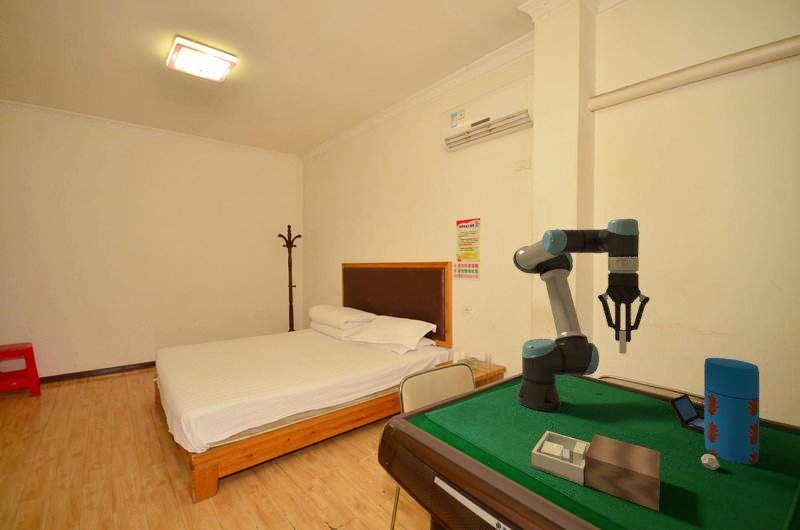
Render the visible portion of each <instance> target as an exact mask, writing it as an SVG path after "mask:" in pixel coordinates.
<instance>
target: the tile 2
mask: <svg viewBox="0 0 800 530" xmlns="http://www.w3.org/2000/svg"><path fill="white" fill-rule="evenodd" d="M585 454H586V444H585V443H581V442H578V441H573V443H572V446H571V448H570V450H569V463H572V464H575V465H578V466H580V465H581V463H582V461H583V458H584V456H585Z"/></svg>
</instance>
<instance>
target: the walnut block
mask: <svg viewBox="0 0 800 530" xmlns="http://www.w3.org/2000/svg"><path fill="white" fill-rule="evenodd" d="M589 443H590V446H589V448H588V450H587V452H586V455H585V482H584V486H586V487H590V488H592V489H595V490H598V491H601V492H604V493H606V494H609V495H612V496H615V497H618V498H620V499H623V500H626V501H628V502H631V503H635V504H637V505H640V506H643V507H645V508H649V509H651V510H654V511H657V512H659V511H660V491H661V490H660V489H661V451H659V450H656V449H651V448H648V447H644V446H640V445H636V444H632V443H629V442H625V441H622V440H618V439H613V438H610V437H607V436H603V435H599V434H596V433H594V435H593V436H592V439H591V441H590V442H589Z"/></svg>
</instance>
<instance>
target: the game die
mask: <svg viewBox="0 0 800 530" xmlns="http://www.w3.org/2000/svg"><path fill="white" fill-rule="evenodd" d="M700 461H701V463H702V464H703V466H704V468H706V469H709V470H711V471H714V470H715V471H716V470H717V469H718V468H720V467H721V465H720V462H719V461H718V459H717V456H716V455H714V454H711V453H705V454H703V455H702V456H701V457H700Z"/></svg>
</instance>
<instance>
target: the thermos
mask: <svg viewBox="0 0 800 530" xmlns="http://www.w3.org/2000/svg"><path fill="white" fill-rule="evenodd" d="M703 370H704V371H703V373H704V375H703V376H704V380H703V381H704V385H703V387H704V390H703V391H704V392H703V393H704V395H703V396H704V398H703V399H704V400H703V403H704V404H703V405H704V408H703V409H704V411H703V413H704V414H703V417H704V434H703V435H704V447H705V449H706V451H708V452H709V454H711V455H713V456H715V457H716V458H717V457H718V458H720V459H723V460H725V461H728V462H732V463H735V462H737V463H736V464H740V463H744V464H743V465H754V464H753V463H756V464H757V463H758V462H759V453H760V370H759V366H758V365H756V364H754V363H752V362H751V363H750V362H747V361H743V360H738V359H731V358H723V357H707V358H705V360H704V368H703ZM757 461H758V462H757Z"/></svg>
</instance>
